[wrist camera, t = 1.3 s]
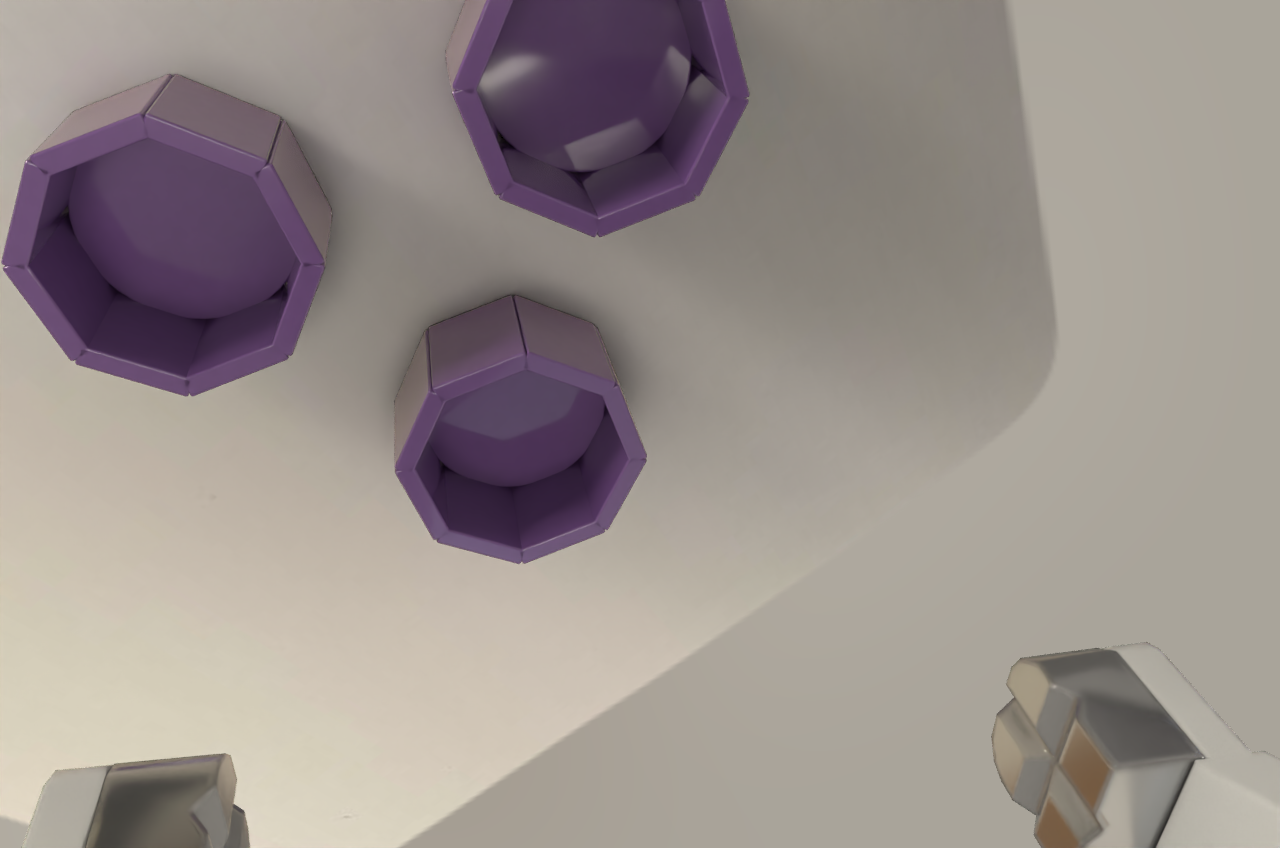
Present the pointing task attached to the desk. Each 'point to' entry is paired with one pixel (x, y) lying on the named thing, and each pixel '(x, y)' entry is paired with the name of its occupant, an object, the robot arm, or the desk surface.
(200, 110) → the dish
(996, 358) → the desk surface
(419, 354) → the dish
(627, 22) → the dish
